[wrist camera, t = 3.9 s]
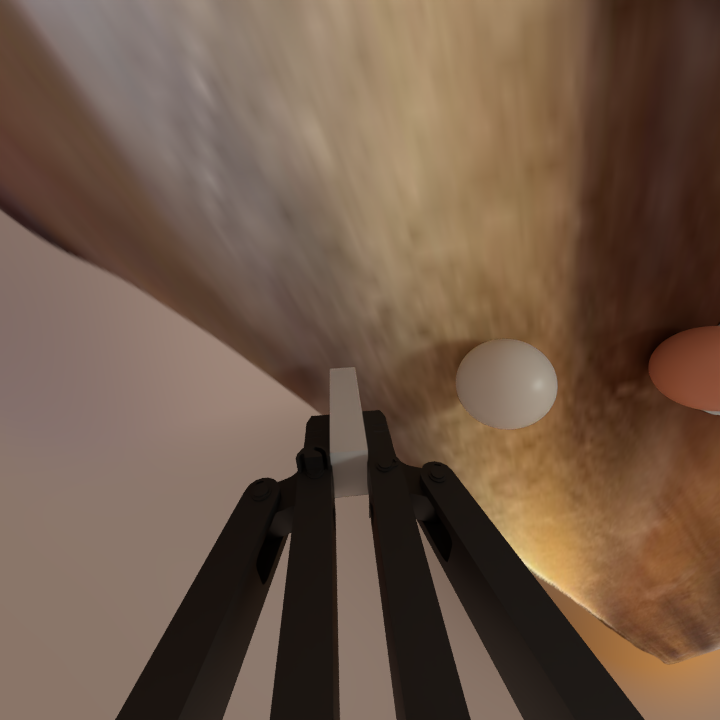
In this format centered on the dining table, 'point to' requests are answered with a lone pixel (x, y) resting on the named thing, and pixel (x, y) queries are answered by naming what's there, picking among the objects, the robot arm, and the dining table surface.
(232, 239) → the dining table surface
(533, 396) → the ivory ball
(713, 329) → the coral ball
